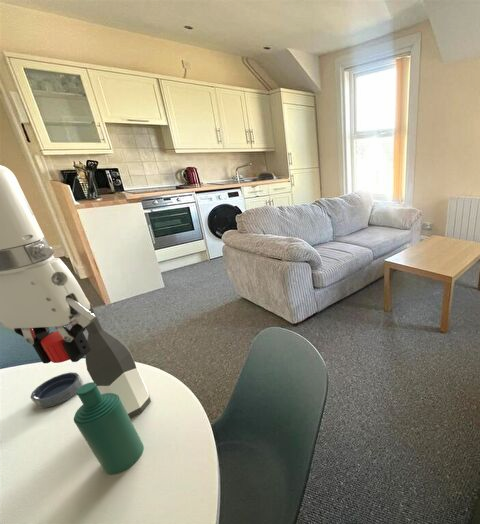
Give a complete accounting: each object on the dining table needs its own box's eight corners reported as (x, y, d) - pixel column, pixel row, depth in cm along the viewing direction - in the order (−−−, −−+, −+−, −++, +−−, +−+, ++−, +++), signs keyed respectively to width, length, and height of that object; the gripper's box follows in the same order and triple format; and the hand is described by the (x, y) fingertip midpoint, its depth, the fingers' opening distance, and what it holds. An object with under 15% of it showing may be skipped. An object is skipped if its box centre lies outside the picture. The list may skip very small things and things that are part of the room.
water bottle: (97, 479, 54) (51, 408, 47) (113, 446, 60) (75, 378, 53) (136, 468, 56) (97, 397, 48) (148, 437, 62) (116, 370, 54)
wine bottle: (139, 389, 74) (93, 287, 63) (159, 399, 71) (114, 294, 59) (104, 414, 68) (45, 306, 56) (124, 426, 64) (65, 314, 53)
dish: (26, 413, 69) (20, 404, 68) (51, 385, 77) (46, 376, 76) (70, 403, 71) (65, 394, 70) (90, 377, 79) (86, 369, 78)
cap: (86, 352, 48) (77, 333, 47) (54, 366, 45) (43, 347, 44) (79, 343, 50) (69, 326, 49) (48, 357, 47) (37, 338, 46)
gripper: (93, 244, 44) (133, 340, 51) (-15, 249, 44) (40, 344, 51) (47, 263, 37) (101, 371, 44) (-82, 269, 37) (-7, 376, 44)
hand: (68, 355), depth 48 cm, fingers closed on cap, 3 cm apart
